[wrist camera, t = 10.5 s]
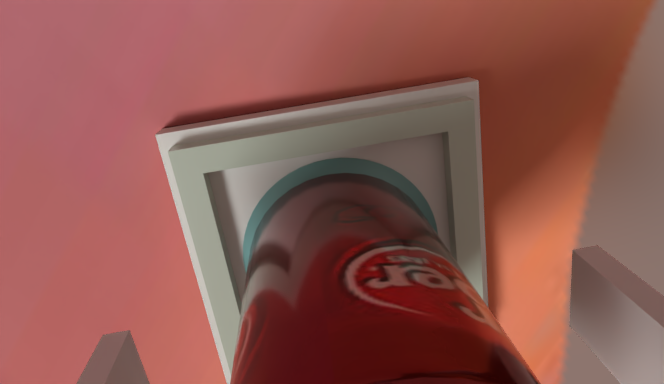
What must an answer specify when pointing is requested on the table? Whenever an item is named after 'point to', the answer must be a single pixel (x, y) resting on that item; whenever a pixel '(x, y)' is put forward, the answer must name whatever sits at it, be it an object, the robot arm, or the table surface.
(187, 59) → the table surface
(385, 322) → the soda can
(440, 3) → the table surface
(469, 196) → the base plate
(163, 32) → the table surface
